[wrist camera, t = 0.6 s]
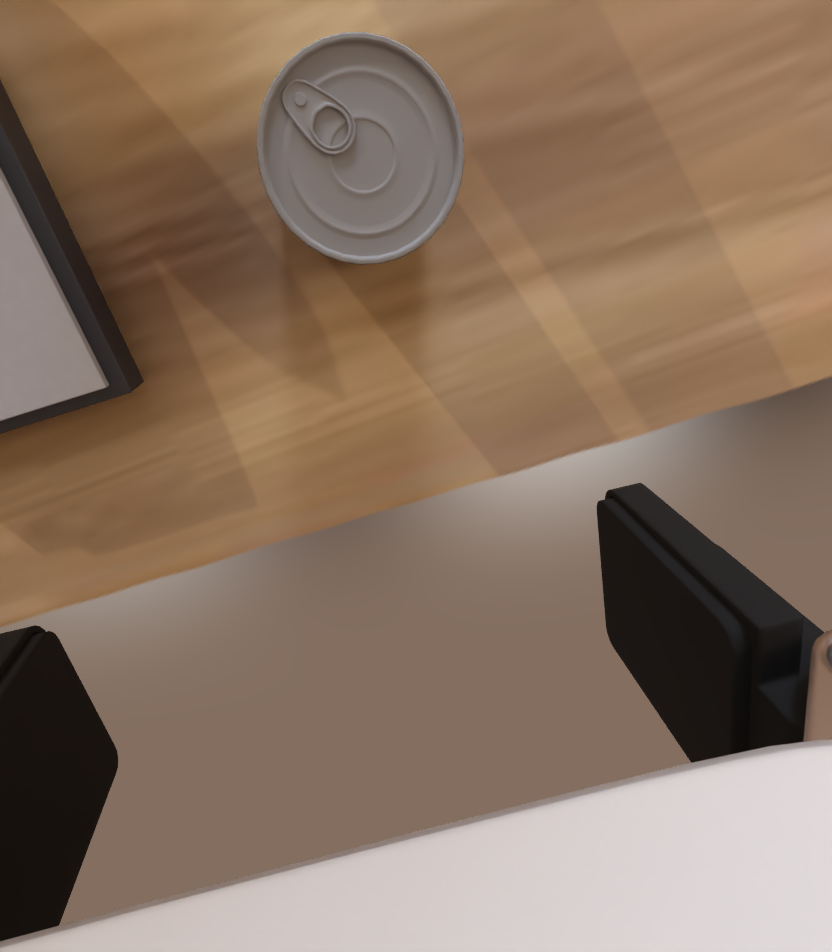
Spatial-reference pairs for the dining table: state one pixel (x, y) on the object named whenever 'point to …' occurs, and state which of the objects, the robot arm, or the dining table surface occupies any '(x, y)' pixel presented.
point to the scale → (48, 300)
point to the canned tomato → (360, 148)
